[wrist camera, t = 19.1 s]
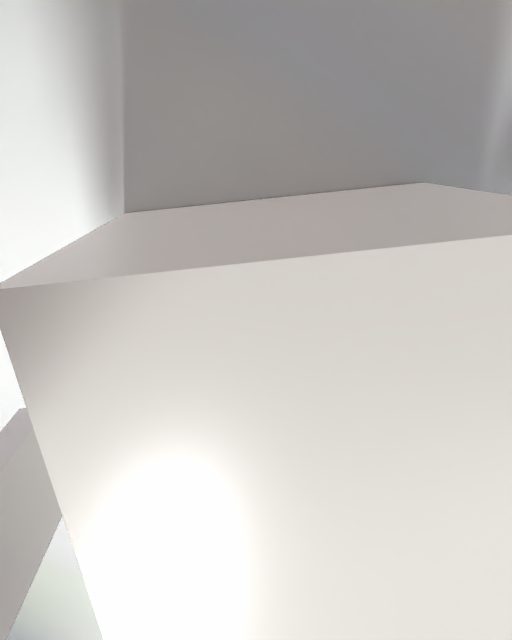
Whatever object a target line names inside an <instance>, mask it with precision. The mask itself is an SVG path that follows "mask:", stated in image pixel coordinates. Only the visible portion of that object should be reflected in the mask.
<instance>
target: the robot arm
mask: <svg viewBox="0 0 512 640" xmlns="http://www.w3.org/2000/svg"><path fill="white" fill-rule="evenodd" d="M61 518H62V513H61V510H60V507H59V504H58V501H57V498H56V495H55V492H54V489H53V486H52V483H51V480H50V477H49V474H48V471H47V468H46V465H45V462H44V459H43V456H42V453H41V450H40V447H39V444H38V441H37V438H36V435H35V432H34V429H33V426H32V423H31V420H30V417H29V414H28V411H27V408H22V409H19V410H18V411H17V412H16V414H15V415H14V416H13V417H12V419H11V420H10V421H9V422H8V423H7V425H6V426H5V427H4V428H3V430H2V431H1V432H0V640H6V639H7V637H8V634H9V632H10V630H11V628H12V626H13V623H14V621H15V619H16V617H17V615H18V612H19V610H20V608H21V606H22V604H23V601H24V599H25V597H26V595H27V593H28V590H29V588H30V586H31V584H32V581H33V579H34V577H35V575H36V573H37V570H38V568H39V566H40V564H41V562H42V559H43V557H44V555H45V553H46V551H47V548H48V546H49V544H50V542H51V540H52V537H53V535H54V533H55V531H56V529H57V526H58V524H59V522H60V520H61Z"/></svg>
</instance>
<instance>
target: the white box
mask: <svg viewBox="0 0 512 640" xmlns="http://www.w3.org/2000/svg"><path fill="white" fill-rule="evenodd" d="M0 329H1V332H2V335H3V338H4V341H5V344H6V347H7V350H8V353H9V356H10V359H11V362H12V365H13V368H14V371H15V374H16V377H17V380H18V383H19V386H20V389H21V392H22V395H23V398H24V401H25V404H26V407H27V411H28V414H29V417H30V420H31V423H32V426H33V429H34V432H35V435H36V438H37V441H38V444H39V447H40V450H41V453H42V456H43V459H44V462H45V465H46V468H47V471H48V474H49V477H50V480H51V483H52V486H53V489H54V492H55V495H56V498H57V501H58V504H59V507H60V510H61V513H62V516H63V519H64V522H65V525H66V528H67V531H68V534H69V537H70V540H71V543H72V546H73V549H74V552H75V555H76V558H77V561H78V564H79V567H80V570H81V573H82V576H83V579H84V582H85V585H86V588H87V591H88V594H89V597H90V600H91V603H92V606H93V609H94V612H95V615H96V618H97V621H98V624H99V627H100V630H101V633H102V636H103V639H104V640H512V195H505V194H498V193H492V192H485V191H478V190H471V189H465V188H458V187H451V186H445V185H438V184H431V183H425V182H422V183H412V184H403V185H393V186H383V187H374V188H364V189H354V190H345V191H335V192H325V193H315V194H306V195H296V196H286V197H277V198H267V199H257V200H248V201H238V202H228V203H219V204H209V205H199V206H190V207H180V208H170V209H161V210H151V211H141V212H131V213H123V214H121V215H120V216H118V217H116V218H114V219H113V220H111V221H109V222H107V223H106V224H104V225H102V226H100V227H99V228H97V229H95V230H93V231H91V232H90V233H88V234H86V235H84V236H83V237H81V238H79V239H77V240H76V241H74V242H72V243H70V244H69V245H67V246H65V247H63V248H61V249H60V250H58V251H56V252H54V253H53V254H51V255H49V256H47V257H46V258H44V259H42V260H40V261H39V262H37V263H35V264H33V265H31V266H30V267H28V268H26V269H24V270H23V271H21V272H19V273H17V274H16V275H14V276H12V277H10V278H9V279H7V280H5V281H3V282H1V283H0Z"/></svg>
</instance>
